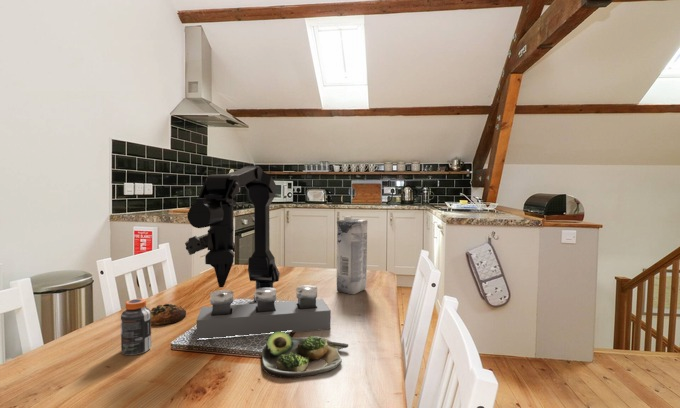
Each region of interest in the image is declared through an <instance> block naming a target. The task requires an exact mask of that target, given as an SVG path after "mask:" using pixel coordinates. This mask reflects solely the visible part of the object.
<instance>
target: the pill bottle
mask: <svg viewBox="0 0 680 408" xmlns="http://www.w3.org/2000/svg"><path fill="white" fill-rule="evenodd" d="M150 310H151V309H150V308H148V307H147V300H146V299H145V298H134V299H130V300H127V301H126V302H125V310H124V311H122V313H121V314H120V340H121V341H120V345H121V346H120V347H121V349H120V351H121V354H123V355H125V356H136V355H140V354H143V353H146V352H148V351H149V350H150V349H151V348H152V325H151V311H150Z"/></svg>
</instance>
